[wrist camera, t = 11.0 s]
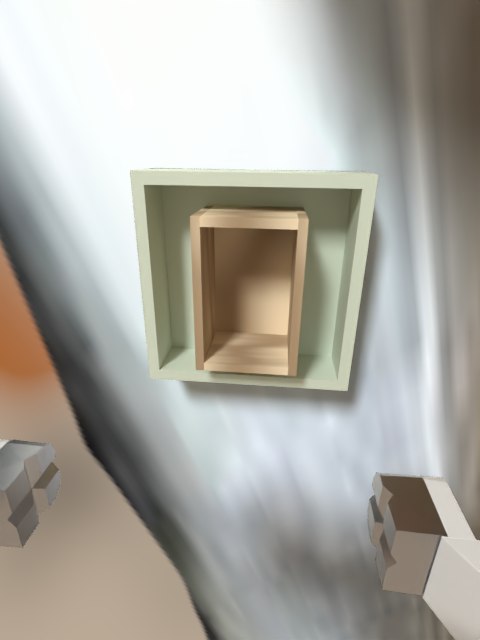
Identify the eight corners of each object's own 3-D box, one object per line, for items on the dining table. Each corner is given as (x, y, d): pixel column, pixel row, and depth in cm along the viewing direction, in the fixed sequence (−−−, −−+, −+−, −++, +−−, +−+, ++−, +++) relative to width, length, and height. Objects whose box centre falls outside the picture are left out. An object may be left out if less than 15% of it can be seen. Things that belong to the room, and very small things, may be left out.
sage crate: (363, 171, 23) (378, 174, 19) (338, 360, 28) (347, 391, 25) (152, 168, 24) (129, 170, 21) (166, 350, 29) (149, 378, 26)
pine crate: (303, 207, 24) (308, 219, 19) (293, 338, 27) (296, 375, 23) (207, 204, 24) (189, 216, 20) (210, 334, 28) (195, 369, 23)
